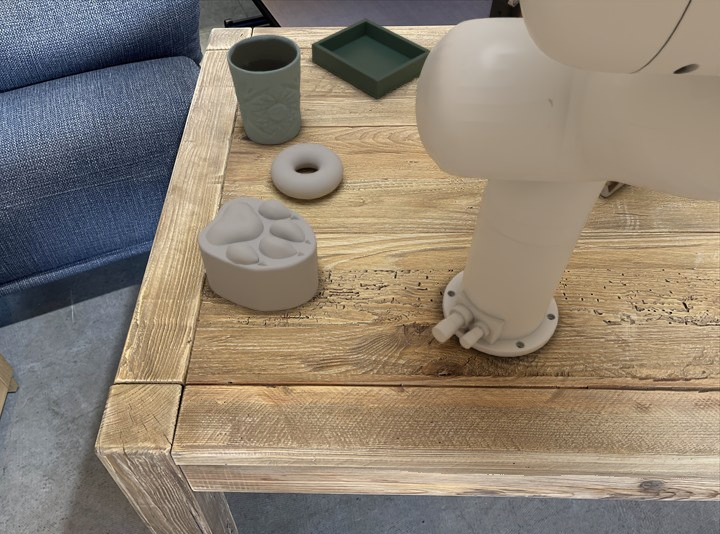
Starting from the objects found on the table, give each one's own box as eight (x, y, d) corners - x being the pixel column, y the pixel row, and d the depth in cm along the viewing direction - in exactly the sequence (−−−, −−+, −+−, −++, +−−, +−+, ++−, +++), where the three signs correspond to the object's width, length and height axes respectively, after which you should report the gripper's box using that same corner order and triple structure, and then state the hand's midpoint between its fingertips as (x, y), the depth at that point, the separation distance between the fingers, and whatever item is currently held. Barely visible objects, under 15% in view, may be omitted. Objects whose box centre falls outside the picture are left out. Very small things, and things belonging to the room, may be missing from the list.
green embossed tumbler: (287, 154, 87) (280, 78, 77) (225, 138, 89) (212, 63, 80) (315, 115, 92) (312, 41, 83) (257, 102, 95) (248, 28, 86)
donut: (356, 171, 84) (296, 149, 87) (357, 151, 81) (295, 129, 85) (319, 215, 79) (256, 189, 82) (319, 195, 76) (254, 169, 79)
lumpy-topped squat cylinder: (242, 232, 77) (232, 179, 70) (334, 263, 73) (333, 210, 67) (198, 289, 71) (183, 238, 64) (296, 325, 68) (291, 275, 61)
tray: (430, 69, 100) (433, 51, 97) (376, 99, 95) (377, 81, 92) (365, 35, 107) (365, 18, 105) (312, 61, 102) (311, 43, 100)
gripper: (545, -149, 45) (496, 71, 59) (667, -196, 52) (596, 11, 66) (468, -170, 49) (439, 42, 63) (591, -212, 55) (540, -12, 70)
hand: (520, 24), depth 64 cm, fingers closed on cup, 6 cm apart
